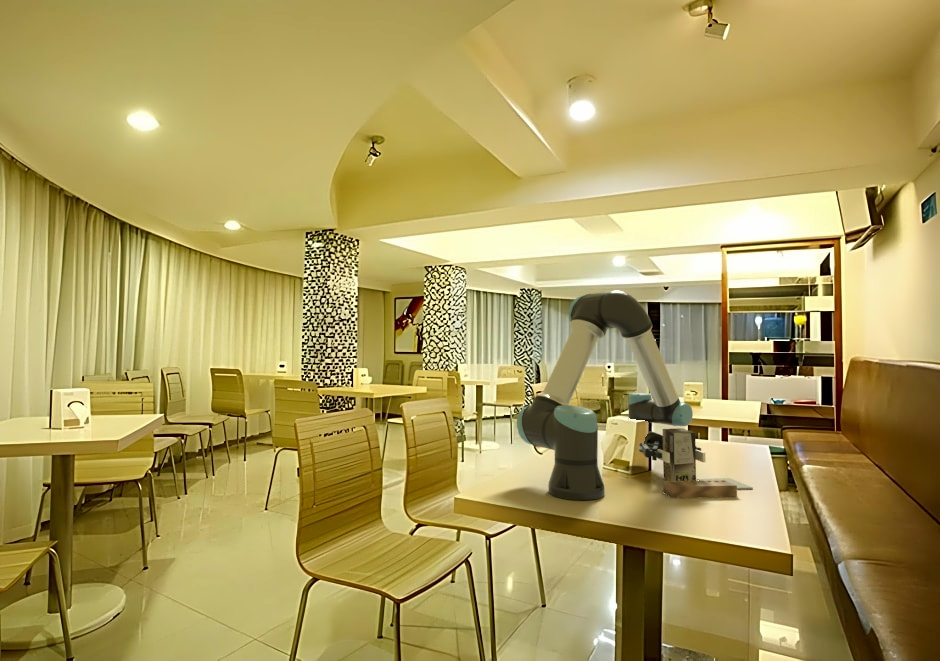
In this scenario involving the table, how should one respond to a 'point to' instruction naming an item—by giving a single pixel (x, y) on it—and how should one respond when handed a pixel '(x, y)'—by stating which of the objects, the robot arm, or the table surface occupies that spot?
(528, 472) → the table surface
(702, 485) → the perforated block
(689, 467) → the coffee box
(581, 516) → the table surface
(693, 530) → the table surface
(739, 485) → the stub pad
